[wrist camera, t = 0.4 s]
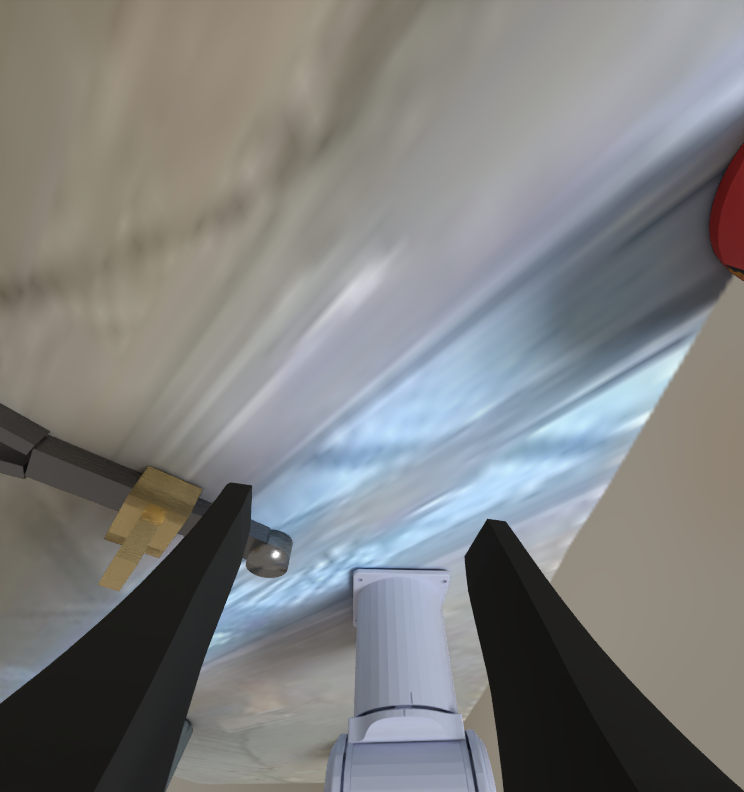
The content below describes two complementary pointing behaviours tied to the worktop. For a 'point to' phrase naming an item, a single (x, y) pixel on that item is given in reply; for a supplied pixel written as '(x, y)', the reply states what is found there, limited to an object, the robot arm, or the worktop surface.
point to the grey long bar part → (112, 485)
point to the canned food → (730, 217)
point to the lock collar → (148, 522)
